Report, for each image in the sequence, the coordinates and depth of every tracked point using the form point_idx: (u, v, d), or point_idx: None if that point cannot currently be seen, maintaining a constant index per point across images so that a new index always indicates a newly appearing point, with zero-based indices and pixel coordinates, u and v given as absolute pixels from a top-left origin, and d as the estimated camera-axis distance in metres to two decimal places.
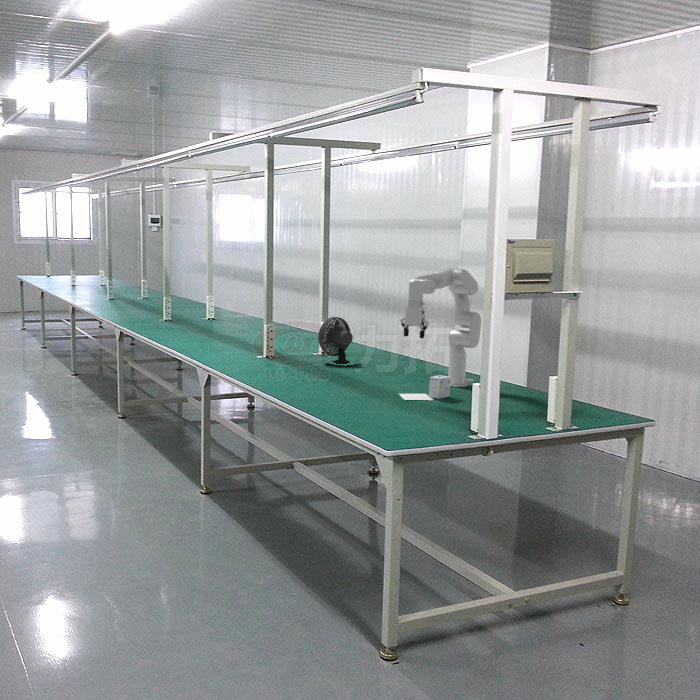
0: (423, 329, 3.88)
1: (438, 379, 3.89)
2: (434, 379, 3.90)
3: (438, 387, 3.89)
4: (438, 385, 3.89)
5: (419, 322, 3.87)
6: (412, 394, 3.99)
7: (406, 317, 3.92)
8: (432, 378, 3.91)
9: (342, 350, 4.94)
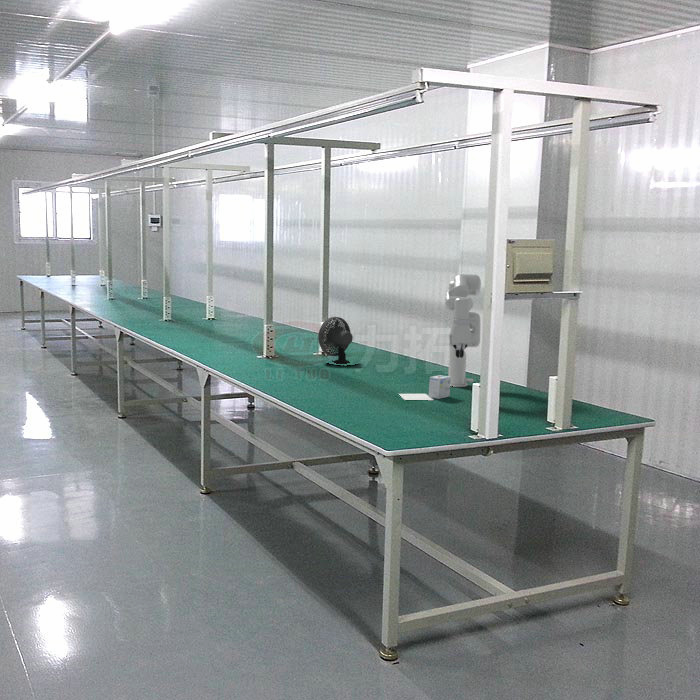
0: None
1: (438, 379, 3.89)
2: (434, 379, 3.90)
3: (438, 387, 3.89)
4: (438, 385, 3.89)
5: (469, 339, 3.92)
6: (412, 394, 3.99)
7: (454, 336, 3.90)
8: (432, 378, 3.91)
9: (342, 350, 4.94)
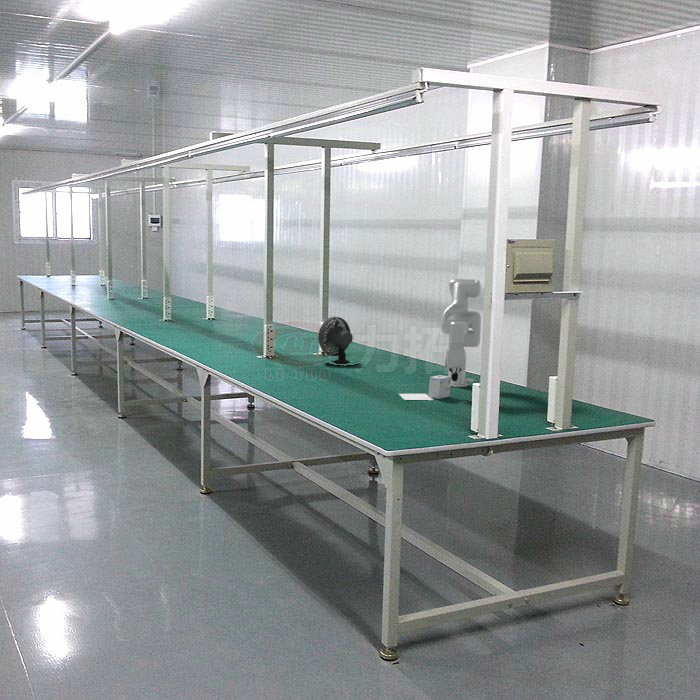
0: (458, 372, 3.95)
1: (438, 379, 3.89)
2: (434, 379, 3.90)
3: (438, 387, 3.89)
4: (438, 385, 3.89)
5: (464, 363, 3.93)
6: (412, 394, 3.99)
7: (449, 360, 3.91)
8: (432, 378, 3.91)
9: (342, 350, 4.94)
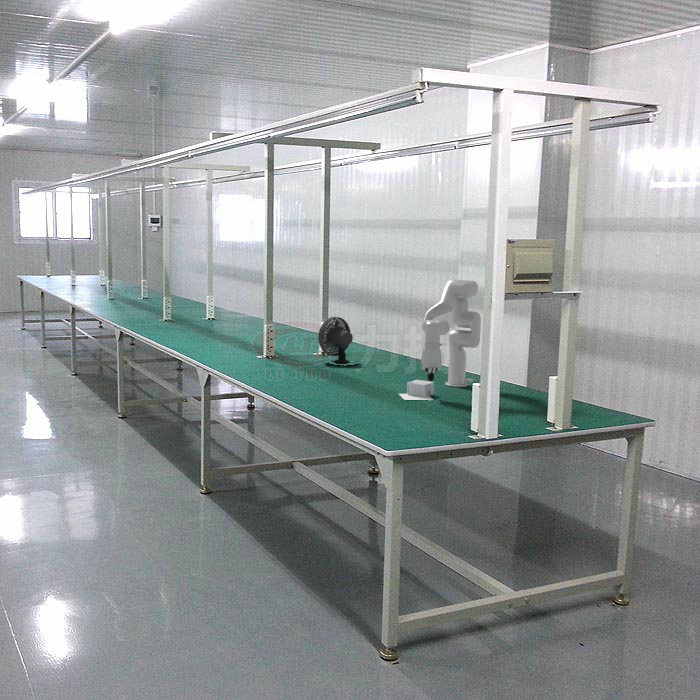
0: (434, 372, 3.92)
1: (408, 384, 3.97)
2: (408, 389, 3.97)
3: (414, 384, 3.95)
4: (413, 384, 3.95)
5: (440, 363, 3.91)
6: None
7: (425, 359, 3.89)
8: (407, 391, 3.98)
9: (342, 350, 4.94)
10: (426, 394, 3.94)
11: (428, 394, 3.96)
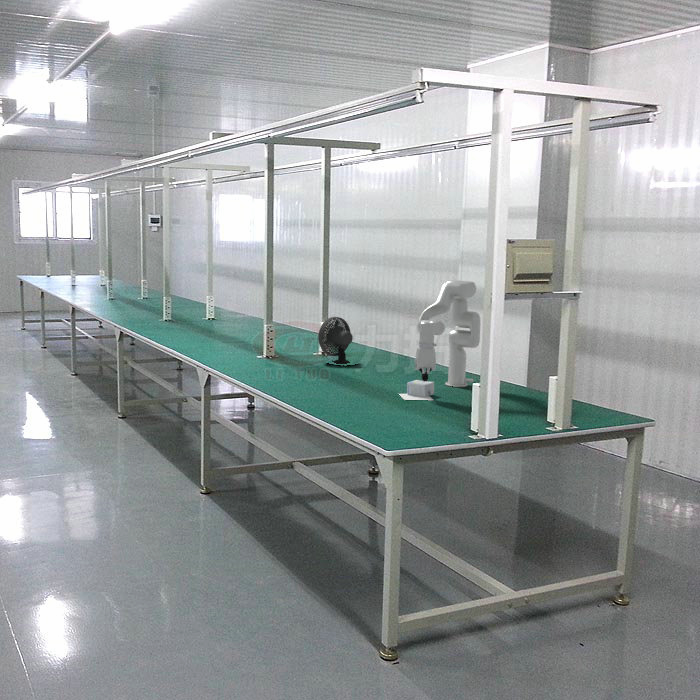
0: (428, 372, 3.92)
1: (408, 384, 3.97)
2: (408, 389, 3.97)
3: (414, 384, 3.95)
4: (413, 384, 3.95)
5: (434, 363, 3.90)
6: None
7: (419, 360, 3.89)
8: (407, 391, 3.98)
9: (342, 350, 4.94)
10: (426, 394, 3.94)
11: (428, 394, 3.96)
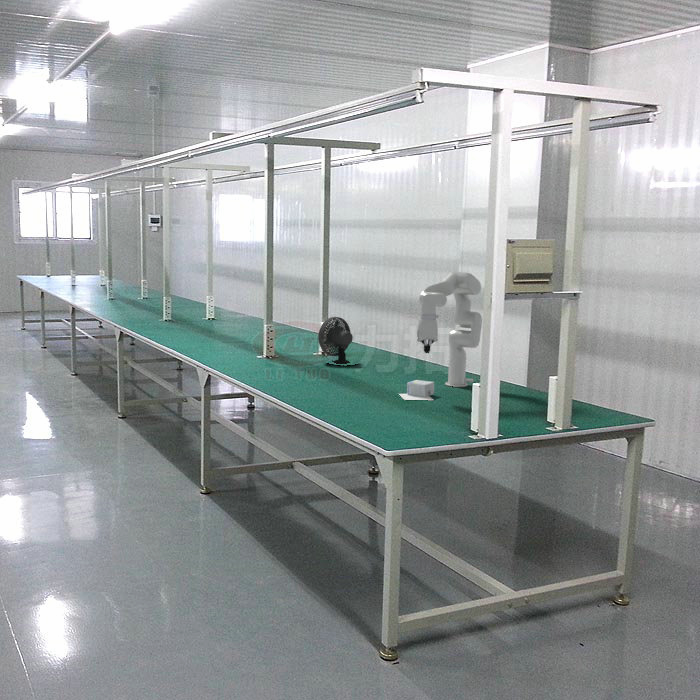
0: (430, 344, 3.92)
1: (408, 384, 3.97)
2: (408, 389, 3.97)
3: (414, 384, 3.95)
4: (413, 384, 3.95)
5: (436, 335, 3.90)
6: None
7: (421, 331, 3.88)
8: (407, 391, 3.98)
9: (342, 350, 4.94)
10: (426, 394, 3.94)
11: (428, 394, 3.96)
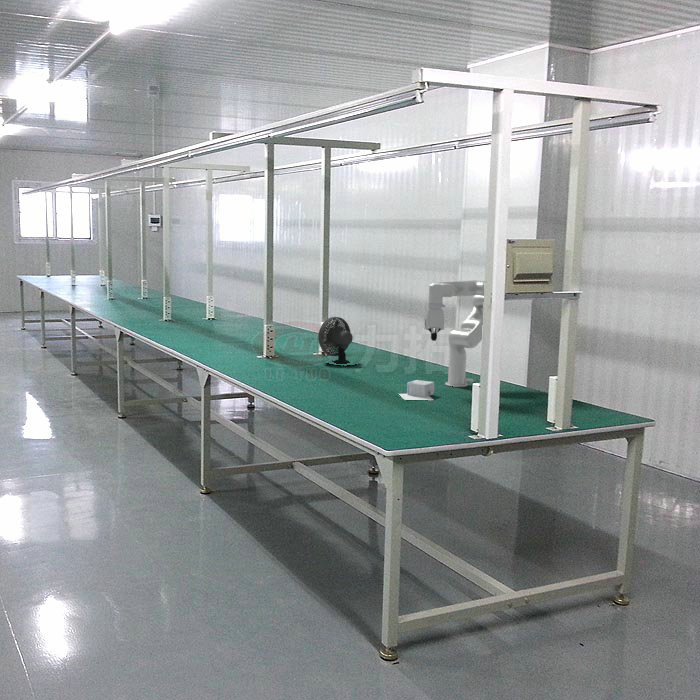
0: (437, 332, 4.11)
1: (408, 384, 3.97)
2: (408, 389, 3.97)
3: (414, 384, 3.95)
4: (413, 384, 3.95)
5: (443, 323, 4.10)
6: None
7: (429, 320, 4.08)
8: (407, 391, 3.98)
9: (342, 350, 4.94)
10: (426, 394, 3.94)
11: (428, 394, 3.96)
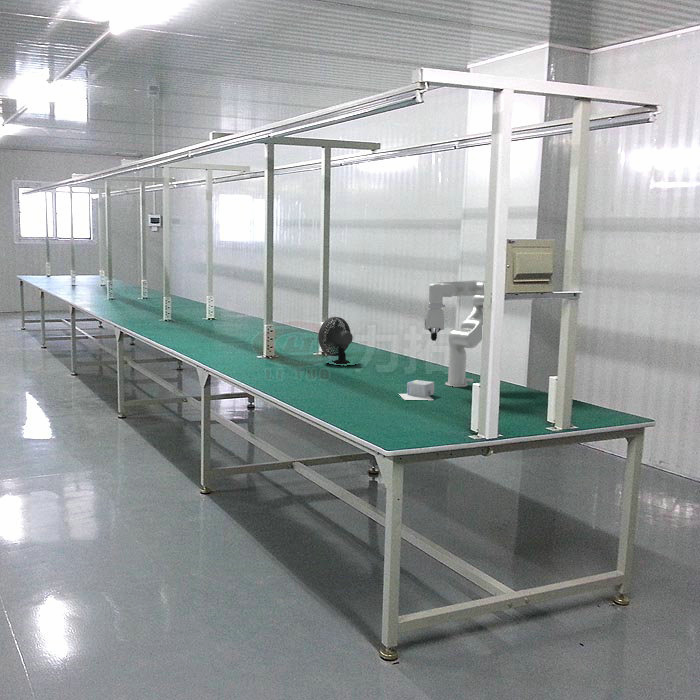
0: (437, 332, 4.11)
1: (408, 384, 3.97)
2: (408, 389, 3.97)
3: (414, 384, 3.95)
4: (413, 384, 3.95)
5: (443, 323, 4.10)
6: None
7: (429, 320, 4.08)
8: (407, 391, 3.98)
9: (342, 350, 4.94)
10: (426, 394, 3.94)
11: (428, 394, 3.96)
